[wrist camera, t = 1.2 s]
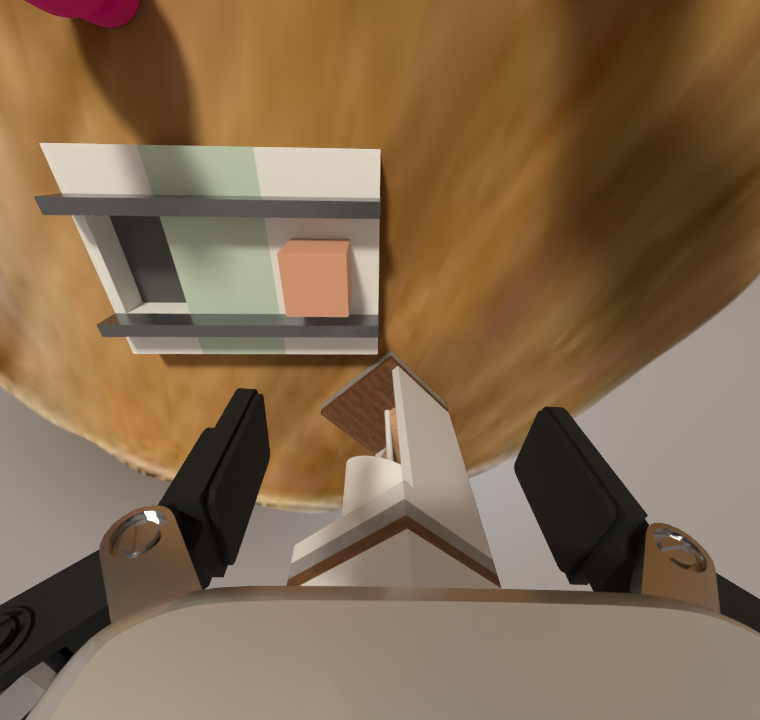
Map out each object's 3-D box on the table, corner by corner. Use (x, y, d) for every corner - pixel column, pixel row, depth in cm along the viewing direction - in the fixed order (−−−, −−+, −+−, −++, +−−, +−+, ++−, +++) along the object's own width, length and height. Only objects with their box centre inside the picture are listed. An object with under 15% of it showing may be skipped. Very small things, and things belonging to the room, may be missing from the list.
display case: (390, 349, 37) (462, 1098, 8) (445, 402, 42) (628, 1013, 12) (322, 403, 41) (197, 1035, 12) (379, 446, 46) (394, 988, 16)
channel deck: (379, 149, 27) (380, 149, 25) (377, 340, 37) (377, 354, 34) (71, 144, 26) (39, 142, 24) (150, 339, 36) (133, 353, 33)
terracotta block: (350, 239, 28) (346, 253, 24) (351, 294, 31) (348, 317, 26) (291, 238, 28) (277, 253, 24) (298, 294, 30) (286, 316, 26)
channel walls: (379, 197, 26) (380, 201, 24) (378, 325, 32) (378, 337, 30) (62, 193, 26) (33, 196, 24) (120, 324, 32) (102, 336, 30)
